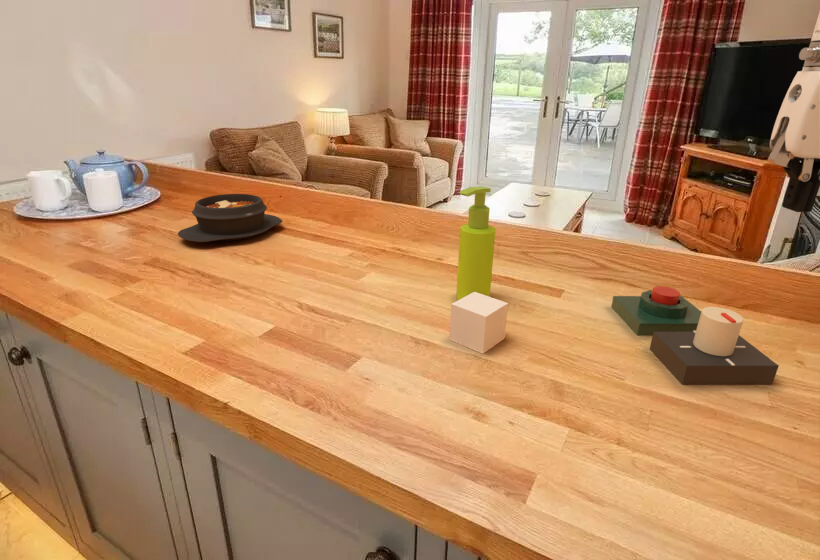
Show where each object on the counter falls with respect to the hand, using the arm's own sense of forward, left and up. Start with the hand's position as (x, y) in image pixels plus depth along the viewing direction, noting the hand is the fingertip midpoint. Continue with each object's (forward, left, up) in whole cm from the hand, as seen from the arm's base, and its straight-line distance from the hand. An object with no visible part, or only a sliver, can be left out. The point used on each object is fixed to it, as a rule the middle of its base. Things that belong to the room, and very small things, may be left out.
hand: (795, 209), depth 65 cm
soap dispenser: (+40, -16, -21) cm, 48 cm away
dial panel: (+10, +6, -21) cm, 24 cm away
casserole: (+93, -53, -21) cm, 109 cm away
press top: (+10, -8, -17) cm, 22 cm away
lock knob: (+10, +6, -18) cm, 21 cm away
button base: (+10, -8, -21) cm, 25 cm away
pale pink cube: (+41, -2, -21) cm, 46 cm away
